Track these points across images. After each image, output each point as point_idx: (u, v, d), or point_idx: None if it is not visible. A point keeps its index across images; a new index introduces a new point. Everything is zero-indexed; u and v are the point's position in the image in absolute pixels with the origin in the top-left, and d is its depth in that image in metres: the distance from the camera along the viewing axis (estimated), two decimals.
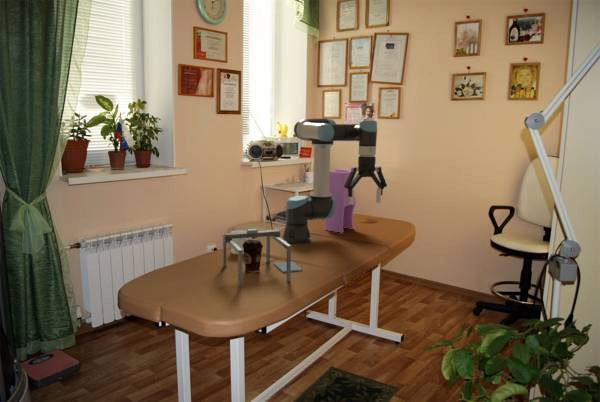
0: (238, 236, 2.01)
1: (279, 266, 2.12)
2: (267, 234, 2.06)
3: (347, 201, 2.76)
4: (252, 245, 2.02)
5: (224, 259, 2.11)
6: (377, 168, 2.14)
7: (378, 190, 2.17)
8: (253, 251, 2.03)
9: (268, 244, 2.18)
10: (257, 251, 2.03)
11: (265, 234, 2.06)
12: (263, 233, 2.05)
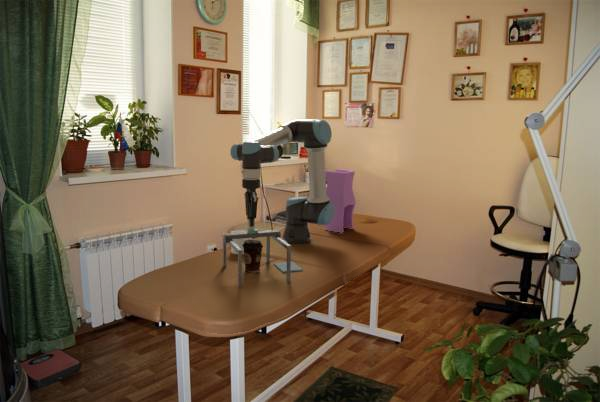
0: (238, 236, 2.01)
1: (279, 266, 2.12)
2: (267, 234, 2.05)
3: (347, 201, 2.76)
4: (252, 245, 2.02)
5: (224, 259, 2.11)
6: (253, 197, 1.99)
7: None
8: (253, 251, 2.03)
9: (268, 244, 2.18)
10: (257, 251, 2.03)
11: (266, 234, 2.05)
12: (263, 233, 2.05)
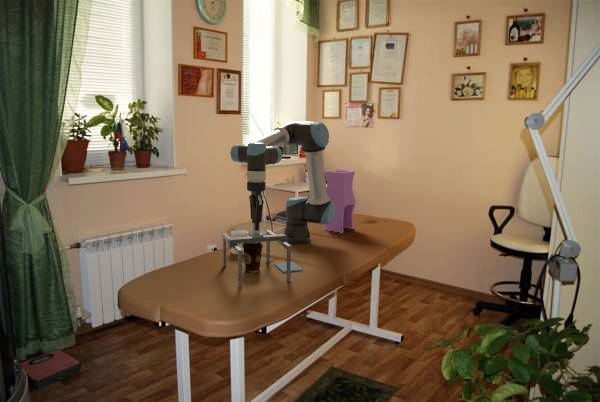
0: (243, 241, 1.94)
1: (279, 266, 2.12)
2: (273, 239, 1.98)
3: (347, 201, 2.76)
4: (252, 245, 2.02)
5: (224, 259, 2.11)
6: (258, 200, 1.92)
7: None
8: (253, 251, 2.03)
9: (268, 244, 2.18)
10: (257, 251, 2.03)
11: (271, 239, 1.98)
12: (269, 238, 1.98)
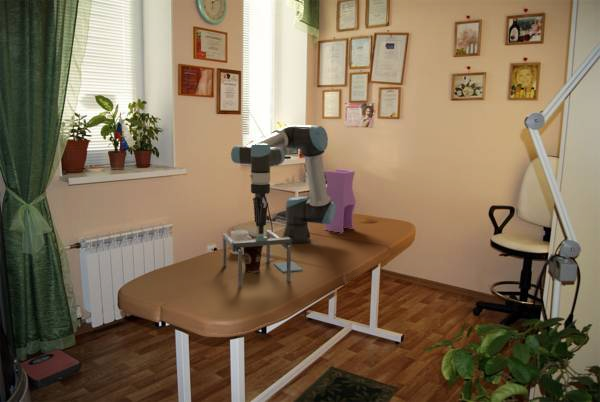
0: (247, 244, 1.89)
1: (279, 266, 2.12)
2: (278, 242, 1.93)
3: (347, 201, 2.76)
4: None
5: (224, 259, 2.11)
6: (262, 202, 1.87)
7: None
8: (253, 251, 2.03)
9: None
10: (257, 251, 2.03)
11: (276, 242, 1.93)
12: (273, 241, 1.93)
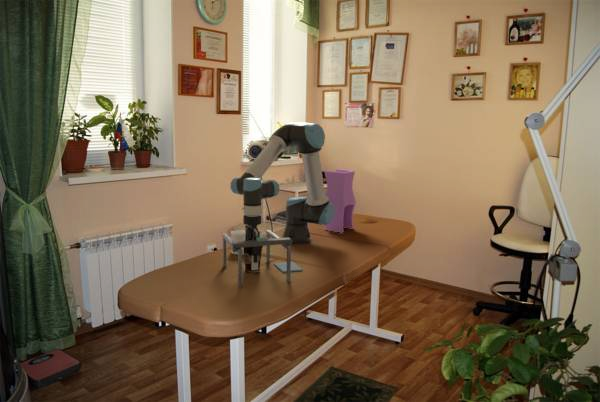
0: (247, 245, 1.88)
1: (279, 266, 2.12)
2: (278, 242, 1.93)
3: (347, 201, 2.76)
4: None
5: (224, 259, 2.11)
6: None
7: None
8: None
9: None
10: None
11: (276, 242, 1.93)
12: (274, 241, 1.92)
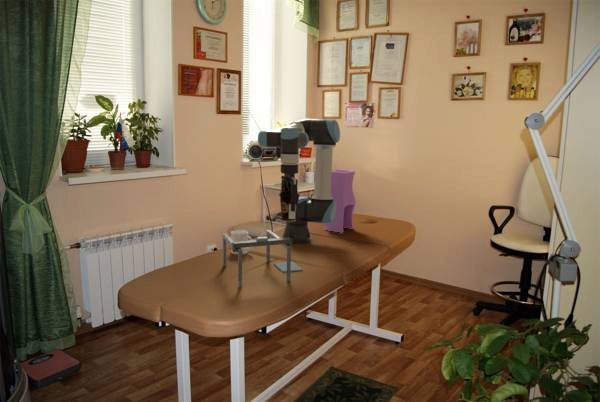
0: (247, 245, 1.88)
1: (279, 266, 2.12)
2: (278, 242, 1.93)
3: (347, 201, 2.76)
4: None
5: (224, 259, 2.11)
6: (292, 180, 2.01)
7: None
8: None
9: None
10: None
11: (276, 242, 1.93)
12: (274, 241, 1.92)
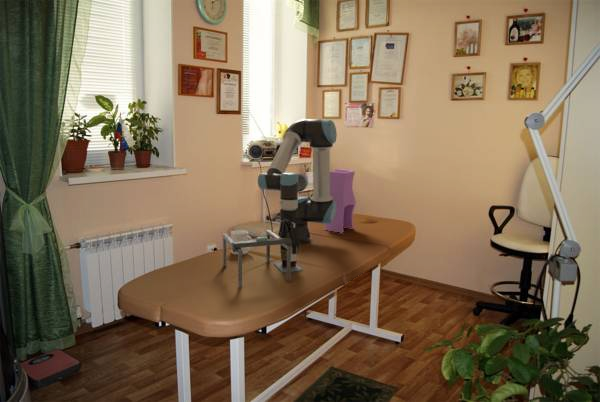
0: (247, 245, 1.88)
1: (279, 266, 2.12)
2: (278, 242, 1.93)
3: (347, 201, 2.76)
4: None
5: (224, 259, 2.11)
6: None
7: None
8: None
9: None
10: None
11: (276, 242, 1.93)
12: (274, 241, 1.92)
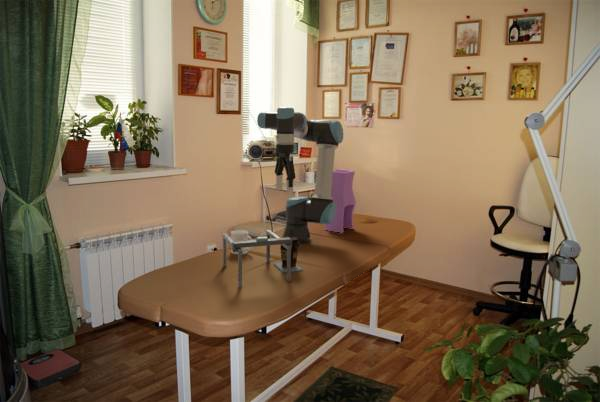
0: (247, 245, 1.88)
1: (279, 266, 2.12)
2: (278, 242, 1.93)
3: (347, 201, 2.76)
4: None
5: (224, 259, 2.11)
6: None
7: None
8: (291, 248, 2.07)
9: None
10: (294, 248, 2.07)
11: (276, 242, 1.93)
12: (274, 241, 1.92)
